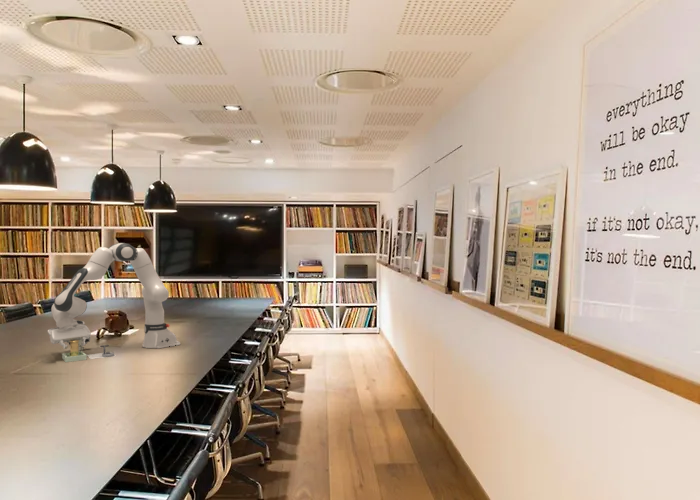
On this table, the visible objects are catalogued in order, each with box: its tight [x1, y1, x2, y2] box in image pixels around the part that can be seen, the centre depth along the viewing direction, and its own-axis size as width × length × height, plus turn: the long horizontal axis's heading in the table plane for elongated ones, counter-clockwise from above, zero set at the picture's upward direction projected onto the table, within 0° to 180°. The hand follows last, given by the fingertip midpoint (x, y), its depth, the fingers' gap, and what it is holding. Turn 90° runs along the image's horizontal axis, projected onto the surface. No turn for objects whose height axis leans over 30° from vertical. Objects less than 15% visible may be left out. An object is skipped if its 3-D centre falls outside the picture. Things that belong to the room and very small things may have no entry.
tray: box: [61, 350, 88, 363], centre depth 267 cm, size 10×12×4 cm
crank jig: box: [86, 344, 117, 360], centre depth 276 cm, size 13×12×7 cm
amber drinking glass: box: [69, 340, 79, 357], centre depth 267 cm, size 4×4×10 cm
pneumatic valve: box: [66, 336, 91, 351], centre depth 289 cm, size 6×12×12 cm, turn 107°
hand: (74, 346), depth 267 cm, fingers open, 8 cm apart
